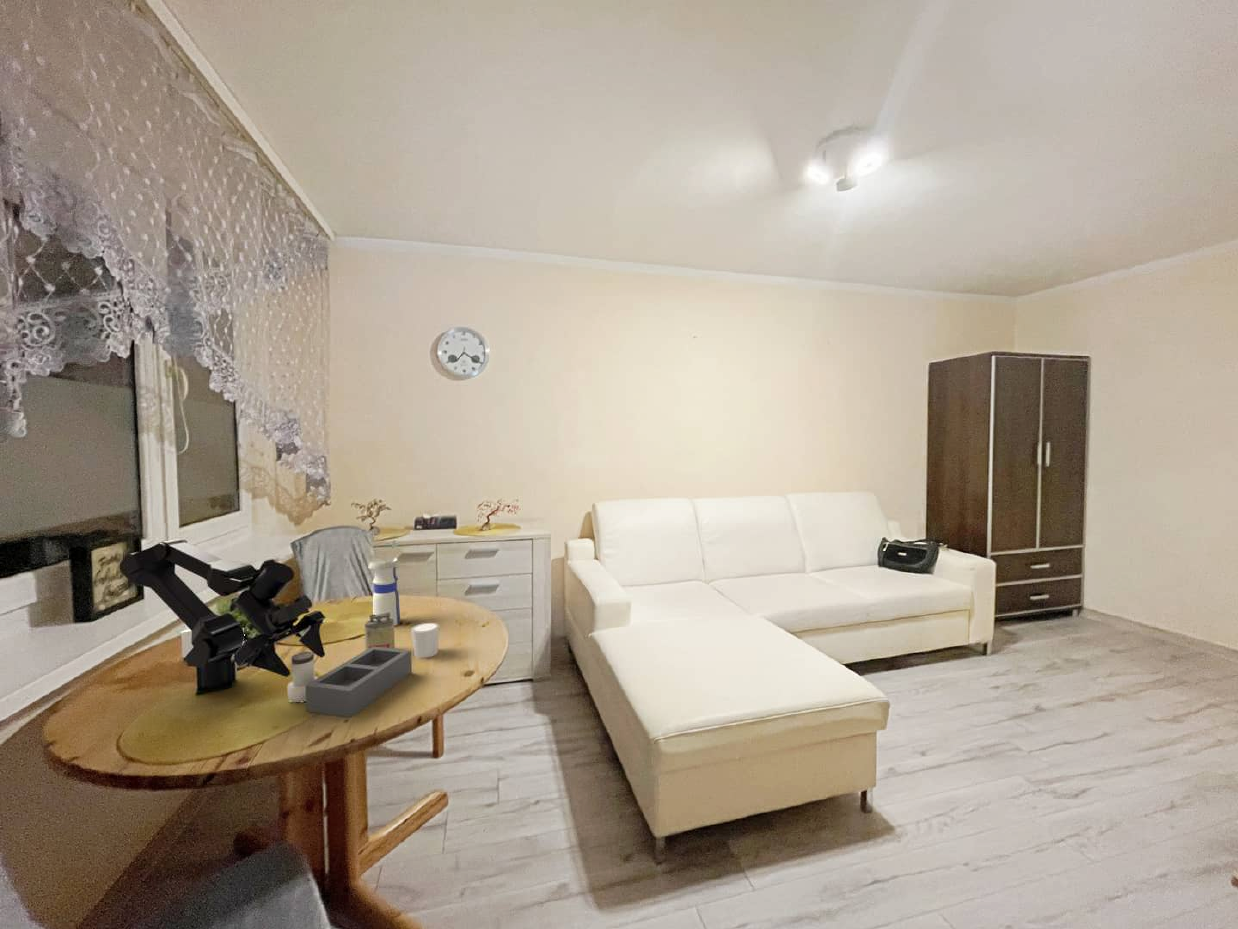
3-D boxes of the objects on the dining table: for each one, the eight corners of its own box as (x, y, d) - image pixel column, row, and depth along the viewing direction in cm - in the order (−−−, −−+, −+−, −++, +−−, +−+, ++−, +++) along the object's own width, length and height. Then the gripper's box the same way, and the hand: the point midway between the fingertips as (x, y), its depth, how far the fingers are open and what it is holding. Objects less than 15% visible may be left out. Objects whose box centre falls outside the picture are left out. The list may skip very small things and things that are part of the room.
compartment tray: (350, 717, 101) (349, 691, 100) (306, 711, 103) (305, 685, 103) (411, 672, 120) (411, 650, 119) (373, 668, 122) (372, 646, 122)
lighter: (364, 656, 129) (363, 618, 128) (365, 650, 133) (364, 613, 132) (394, 651, 132) (393, 614, 131) (395, 646, 135) (394, 610, 135)
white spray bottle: (376, 619, 156) (373, 539, 154) (405, 617, 157) (402, 538, 155) (366, 629, 147) (363, 545, 146) (396, 627, 148) (393, 544, 147)
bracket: (182, 661, 127) (181, 632, 127) (186, 651, 133) (185, 623, 133) (246, 649, 135) (245, 621, 134) (247, 640, 140) (246, 613, 140)
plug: (287, 706, 105) (285, 664, 105) (288, 693, 110) (286, 654, 110) (320, 698, 108) (319, 657, 108) (320, 686, 113) (318, 647, 113)
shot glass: (433, 645, 135) (432, 620, 135) (444, 653, 131) (444, 627, 130) (407, 653, 131) (406, 627, 130) (418, 661, 126) (417, 634, 125)
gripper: (242, 602, 100) (291, 661, 98) (317, 576, 118) (359, 625, 116) (212, 637, 102) (259, 696, 100) (290, 607, 120) (331, 656, 118)
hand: (306, 665), depth 109 cm, fingers open, 9 cm apart
